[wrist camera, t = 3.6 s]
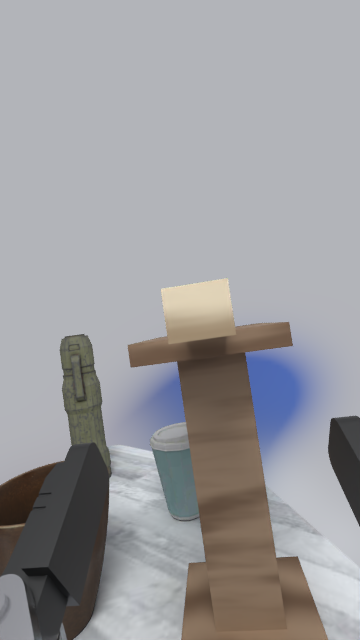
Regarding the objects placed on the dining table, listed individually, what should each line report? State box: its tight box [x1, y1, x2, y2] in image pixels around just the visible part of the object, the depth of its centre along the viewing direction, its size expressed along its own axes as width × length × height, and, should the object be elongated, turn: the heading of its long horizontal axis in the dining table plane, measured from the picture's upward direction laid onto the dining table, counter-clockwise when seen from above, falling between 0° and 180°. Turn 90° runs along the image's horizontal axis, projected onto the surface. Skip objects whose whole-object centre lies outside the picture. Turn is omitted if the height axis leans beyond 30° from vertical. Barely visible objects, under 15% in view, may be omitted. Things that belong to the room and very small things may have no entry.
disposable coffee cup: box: [150, 422, 199, 520], centre depth 55 cm, size 11×11×15 cm
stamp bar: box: [161, 278, 236, 344], centre depth 27 cm, size 23×6×4 cm, turn 174°
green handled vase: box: [60, 334, 112, 478], centre depth 73 cm, size 9×12×35 cm
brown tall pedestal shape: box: [128, 322, 328, 640], centre depth 33 cm, size 16×14×32 cm
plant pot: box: [0, 461, 109, 640], centre depth 37 cm, size 15×15×16 cm
